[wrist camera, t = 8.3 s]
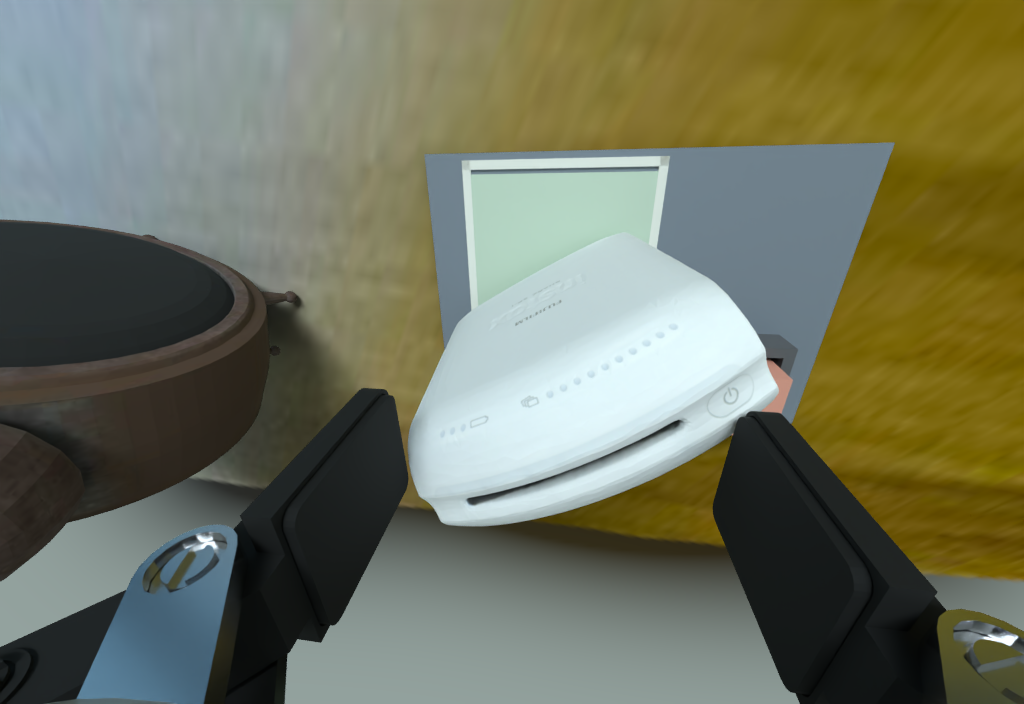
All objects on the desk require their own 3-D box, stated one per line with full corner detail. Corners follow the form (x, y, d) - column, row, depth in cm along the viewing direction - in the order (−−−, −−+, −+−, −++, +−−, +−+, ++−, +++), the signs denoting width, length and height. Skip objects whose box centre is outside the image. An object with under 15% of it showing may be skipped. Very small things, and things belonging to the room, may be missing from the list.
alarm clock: (342, 278, 22) (-653, 758, 4) (326, 378, 25) (-265, 890, 7) (98, 182, 21) (-2351, 241, 3) (114, 296, 25) (-1103, 635, 7)
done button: (769, 358, 19) (793, 380, 17) (752, 411, 20) (772, 437, 18) (701, 355, 19) (717, 376, 17) (689, 408, 21) (703, 433, 19)
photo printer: (630, 214, 18) (804, 287, 6) (662, 292, 19) (847, 460, 8) (448, 314, 20) (348, 490, 9) (489, 376, 22) (447, 592, 11)
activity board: (883, 143, 16) (933, 139, 14) (786, 417, 22) (809, 443, 20) (428, 154, 18) (410, 152, 16) (452, 398, 24) (441, 420, 22)
